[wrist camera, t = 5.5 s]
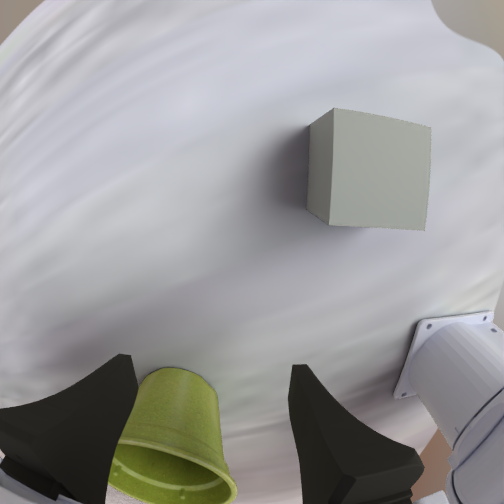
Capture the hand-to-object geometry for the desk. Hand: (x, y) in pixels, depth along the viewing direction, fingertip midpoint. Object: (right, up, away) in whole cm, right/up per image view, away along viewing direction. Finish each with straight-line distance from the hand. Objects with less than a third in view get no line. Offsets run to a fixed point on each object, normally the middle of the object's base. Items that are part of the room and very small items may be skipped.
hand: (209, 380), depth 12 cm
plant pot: (-4, -6, +9) cm, 11 cm away
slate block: (+8, +10, +4) cm, 14 cm away
